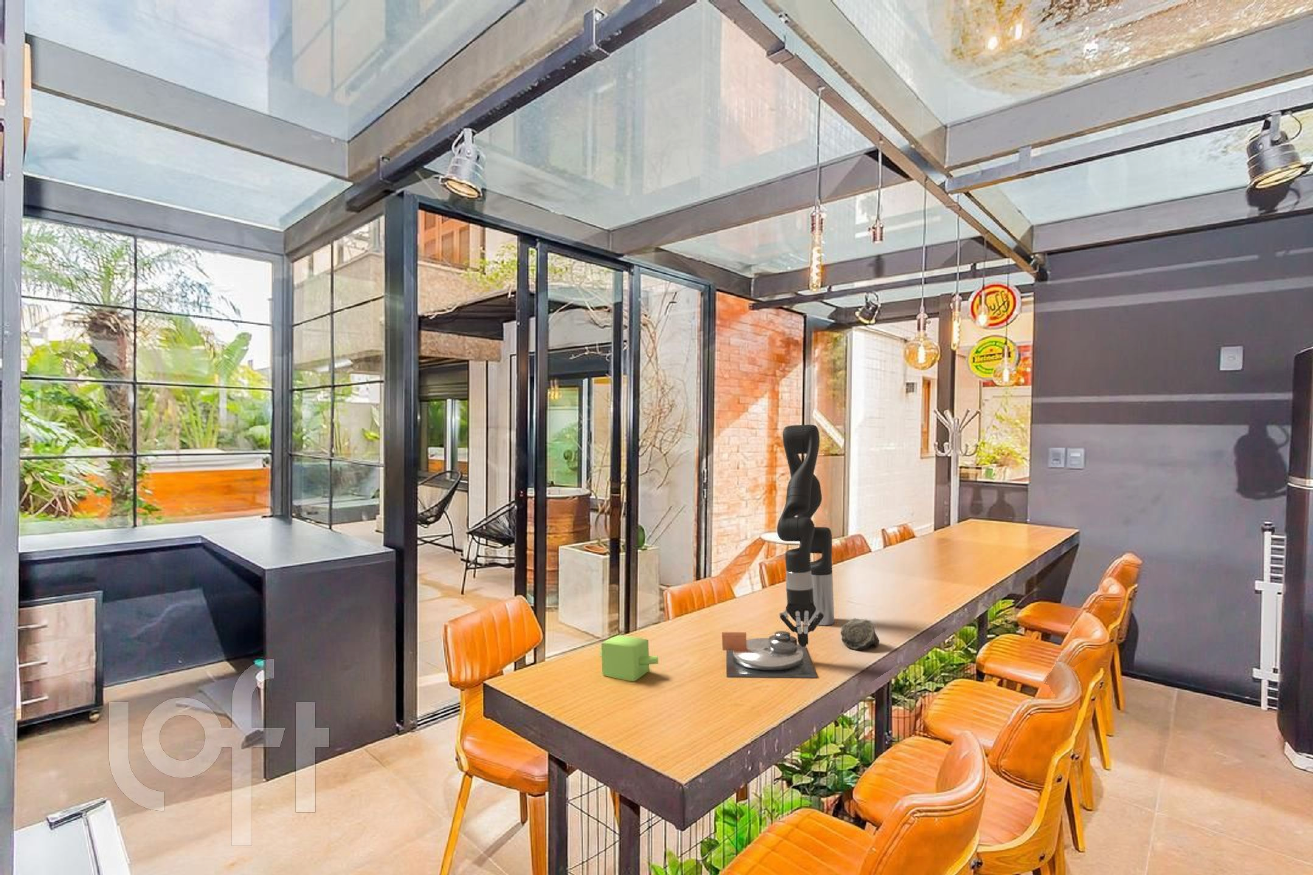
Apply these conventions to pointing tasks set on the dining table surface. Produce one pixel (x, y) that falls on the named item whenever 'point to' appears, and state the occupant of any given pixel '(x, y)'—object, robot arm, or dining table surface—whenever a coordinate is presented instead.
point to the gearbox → (626, 657)
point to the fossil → (859, 634)
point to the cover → (782, 643)
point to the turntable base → (798, 671)
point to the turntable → (758, 652)
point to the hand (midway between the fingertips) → (803, 645)
